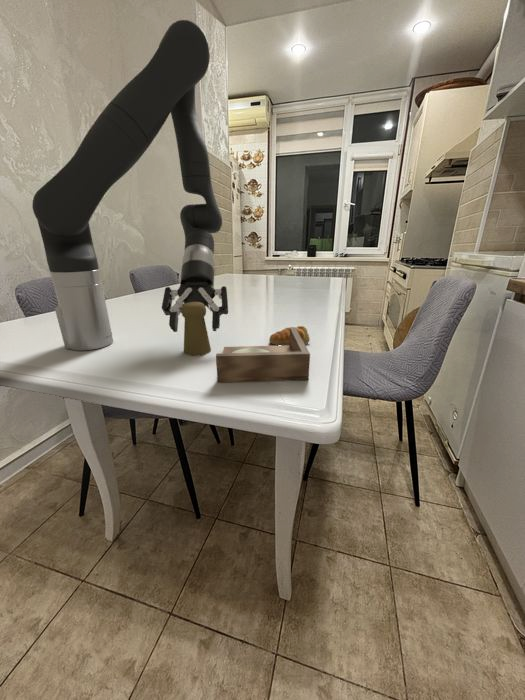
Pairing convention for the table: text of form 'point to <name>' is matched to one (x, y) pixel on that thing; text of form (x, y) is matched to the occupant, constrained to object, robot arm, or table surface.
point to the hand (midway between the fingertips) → (194, 329)
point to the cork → (195, 329)
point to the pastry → (288, 336)
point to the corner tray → (264, 362)
